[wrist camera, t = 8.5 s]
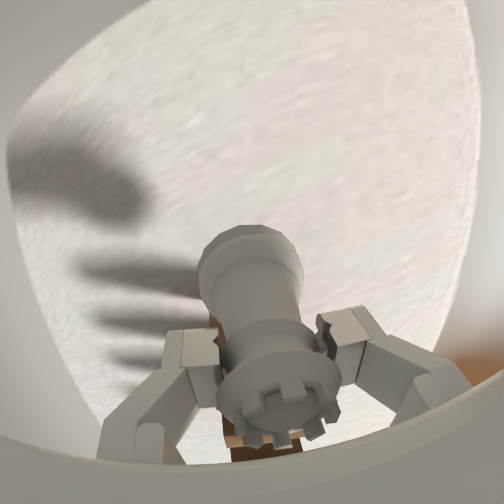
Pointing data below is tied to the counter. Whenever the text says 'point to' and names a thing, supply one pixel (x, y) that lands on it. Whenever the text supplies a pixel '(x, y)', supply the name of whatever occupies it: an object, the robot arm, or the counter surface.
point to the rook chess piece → (266, 339)
